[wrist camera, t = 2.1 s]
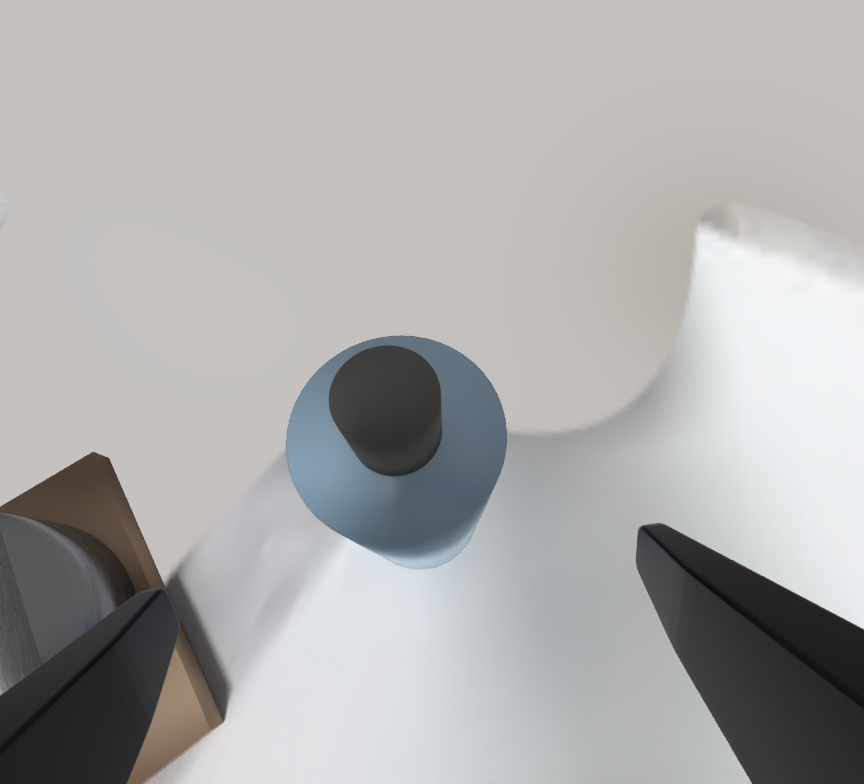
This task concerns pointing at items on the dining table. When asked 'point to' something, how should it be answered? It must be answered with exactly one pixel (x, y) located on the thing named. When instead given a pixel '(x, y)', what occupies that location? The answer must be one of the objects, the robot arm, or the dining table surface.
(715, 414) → the dining table surface
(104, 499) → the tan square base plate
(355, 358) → the blue capped bottle
